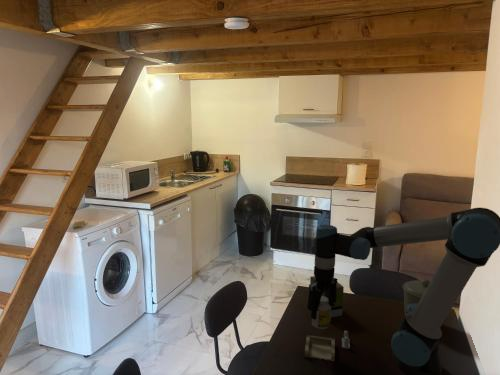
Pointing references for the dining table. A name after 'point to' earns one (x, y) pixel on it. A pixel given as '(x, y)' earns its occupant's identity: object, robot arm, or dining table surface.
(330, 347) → the square tray
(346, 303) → the dining table surface
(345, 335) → the clip
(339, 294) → the tea box
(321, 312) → the pill bottle
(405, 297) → the canister
